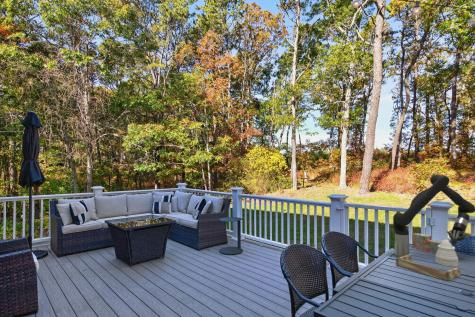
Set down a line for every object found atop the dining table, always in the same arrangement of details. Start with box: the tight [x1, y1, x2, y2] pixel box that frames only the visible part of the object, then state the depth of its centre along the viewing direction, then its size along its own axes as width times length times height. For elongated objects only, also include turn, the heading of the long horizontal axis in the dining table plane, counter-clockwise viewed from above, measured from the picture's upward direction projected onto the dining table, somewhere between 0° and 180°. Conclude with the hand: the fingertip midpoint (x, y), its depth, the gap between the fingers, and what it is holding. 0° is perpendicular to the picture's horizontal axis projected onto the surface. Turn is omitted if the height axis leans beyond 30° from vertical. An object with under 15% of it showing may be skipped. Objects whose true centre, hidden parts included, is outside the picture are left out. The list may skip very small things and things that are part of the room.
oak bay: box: [395, 254, 461, 282], centre depth 181 cm, size 16×31×5 cm, turn 29°
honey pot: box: [435, 237, 459, 268], centre depth 194 cm, size 13×13×18 cm
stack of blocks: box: [411, 232, 442, 254], centre depth 225 cm, size 21×6×12 cm, turn 22°
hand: (453, 243), depth 200 cm, fingers closed
